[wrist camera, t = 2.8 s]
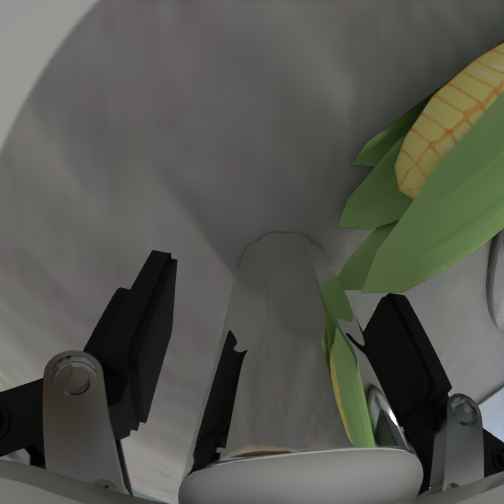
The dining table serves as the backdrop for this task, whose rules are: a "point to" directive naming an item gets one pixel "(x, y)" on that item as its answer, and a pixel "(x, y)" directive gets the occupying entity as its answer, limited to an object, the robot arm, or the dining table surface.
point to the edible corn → (431, 183)
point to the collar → (496, 281)
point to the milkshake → (296, 394)
